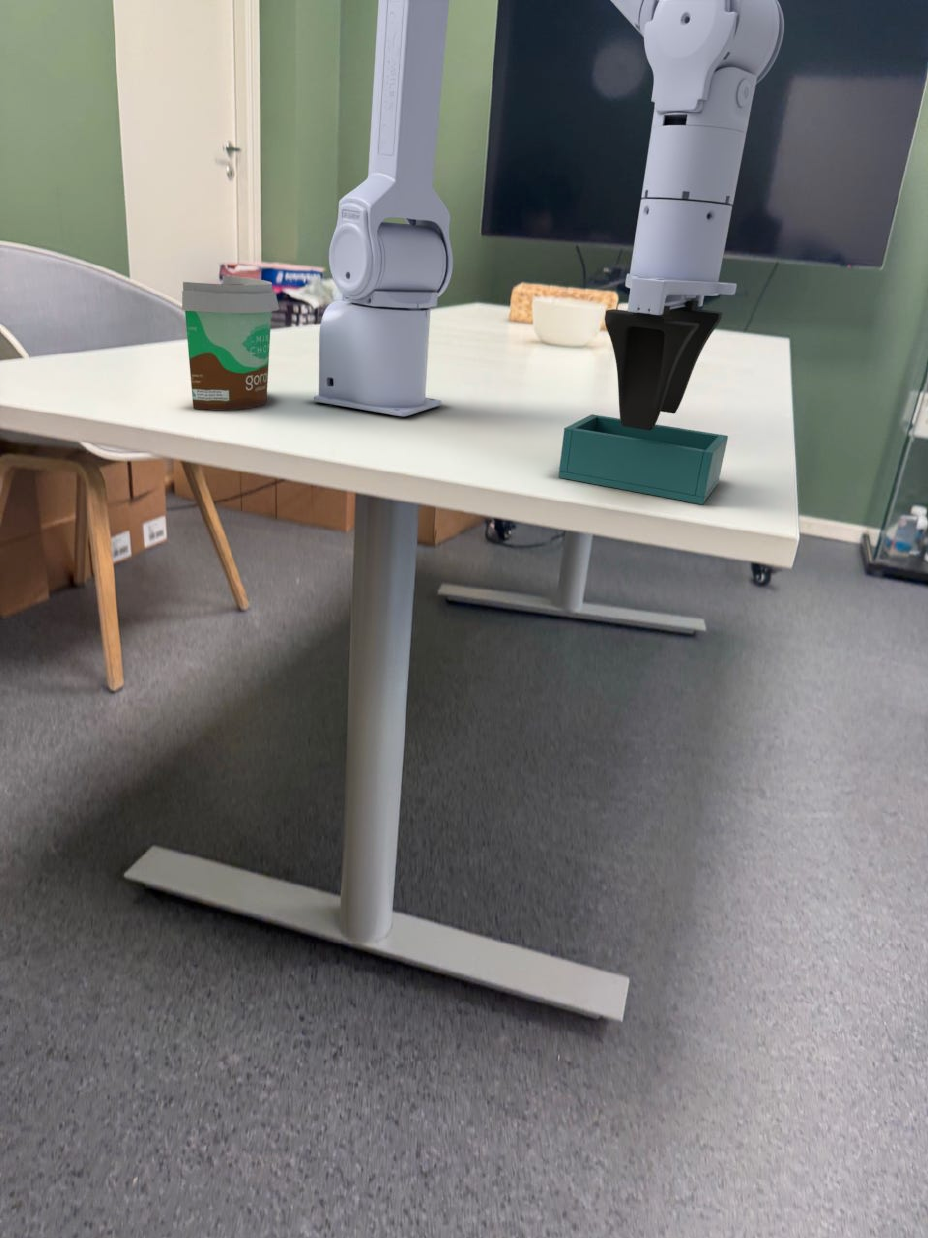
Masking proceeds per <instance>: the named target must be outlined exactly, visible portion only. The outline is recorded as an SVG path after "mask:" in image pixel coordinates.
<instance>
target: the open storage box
mask: <svg viewBox="0 0 928 1238" xmlns="http://www.w3.org/2000/svg"><path fill="white" fill-rule="evenodd" d="M728 439H729V436H728V435H725V434H719V433H712V432H706V431H700V430H694V429H687V428H681V427H674V426H670V425H662V424H657V423H656V424H655V426H654V428H653V429H652V430H643V429H637V428H631V427H625V426H621V421H620V418H618V417H611V416H606V415H605V416H604V415H599V414H590V415H587V416H586V417H583V418H582V419H580V420H578V421H576V422H574V423H572V424H570V425H568V426H566V427H564V430H563V437H562V445H561V452H560V461H559V467H558V478H561V479H566V480H570V481H576V482H581V483H586V484H593V485H597V486H602V487H608V488H613V489H619V490H624V491H630V492H633V493H640V494H644V495H645V494H646V495H651V496H656V497H660V498H666V499H671V500H677V501H683V502H688V503H691V504H692V503H693V504H697V505H698V504H699V505H704V503H705V502H706V501H707V499H708V498H709V496H710V495H711V493H712V492H713V491H714V489H715V488H717V486H718V484H719V482H720V476H721V471H722V467H723V463H724V458H725V453H726V449H727V444H728Z"/></svg>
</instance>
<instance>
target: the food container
mask: <svg viewBox="0 0 928 1238" xmlns="http://www.w3.org/2000/svg"><path fill="white" fill-rule="evenodd" d="M181 294H182V295H181V310H182V311H184V314H185V315H184V316H185V327H186V328H185V329H186V338H187V350H188V361H189V363H188V365H189V374H190V385H191V387H190V388H191V397H192V408H193V409H194V410H205V411H206V410H209V411H210V410H213V411H215V410H216V411H222V410H223V411H228V410H230V411H231V410H244V409H252V408H258V407H261V406H263V405H266V404H267V402H268V401H267V400H268V399H267V398H268V381H269V363H270V347H271V328H272V327H271V324H272V312H276V311H279V310H280V307H279V302H278V297H277V293H276V290H274V289H273V283H272V282H271V281H270V280H269V281H268V280H264V279H258V278H250V277H243V276H242V277H241V276H233V275H232V276H231V275H222V283H206V282H191V281H182V290H181Z"/></svg>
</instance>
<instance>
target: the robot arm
mask: <svg viewBox="0 0 928 1238" xmlns="http://www.w3.org/2000/svg"><path fill="white" fill-rule="evenodd" d="M610 2H611V3H612V4H613V5H614V6H615V7H616V8H617V9H618V11H619V12H620V13H621V14H622V15H623V16H624V18H626V19H627V20H628V22H629V23H630V24H631V25H632V26H633V28H634V29H636V31H637V32H638V33H639V34H640V35H641V36H642V37H643V42H644V43H643V44H644V52H645V57H646V59H647V62H648V64H649V65H650V67H651V70H652V75H653V86H652V94H651V101H650V102H652V103H654V108H653V116H652V122H651V130H650V135H649V137H650V138H649V142H648V150H647V156H646V162H645V170H644V177H643V183H642V190H641V197H640V198H641V199H640V203H639V210H638V217H637V221H636V222H637V224H636V230H635V237H634V244H633V251H632V255H631V263H630V270H629V273H627V274H626V277H625V285H624V286H625V287H626V288H628V289H630V290H629V295H628V302H627V310H624V309H614V308H612V309H606V310H605V313H604V325H605V327H606V331H607V333H608V336H609V339H610V342H611V346H612V350H613V354H614V355H613V356H614V359H615V365H616V376H617V390H618V391H617V393H618V411H619V412H618V413H619V419H620V421H621V426H625V427H631V428H637V429H643V430H652V429H653V428H654V426H655V424H656V425H657V422H658V420H659V417H660V415H661V412H662V413H665V414H666V413H667V414H676V413H677V412H678V410H679V408H680V405H681V403H682V401H683V398H684V396H685V393H686V391H687V388H688V385H689V382H690V379H691V377H692V374H693V371H694V369H695V366H696V364H697V362H698V360H699V357H700V355H701V353H702V351H703V349H704V348H705V345H706V343H707V342H708V340H709V338H710V337H711V335H712V334H713V333H714V331H715V329H716V328H717V327H718V325H719V324H720V323H721V321H722V319H723V312H722V311H717V310H708V309H701V308H699V309H698V307H702V306H703V305H704V304H703V303H704V299H705V296H711V297H712V296H713V297H715V296H719V295H725V296H726V295H727V296H734V295H736V291H737V286H738V284H737V283H734V282H727V281H726V282H725V281H724V282H723V281H719V280H720V274H721V269H722V266H723V258H724V255H725V254H724V253H725V249H726V243H727V238H728V233H729V228H730V221H731V216H732V211H733V206H734V202H735V197H736V196H735V195H736V191H737V190H736V189H737V185H738V180H739V175H740V169H741V164H742V159H743V153H744V148H745V143H746V137H747V131H748V127H749V121H750V117H751V112H752V107H753V106H752V105H753V100H754V95H755V89H756V85H757V84H759V82H760V81H762V80H763V79H764V78H765V76H766V75H767V74H768V73H769V71H770V70H771V69H772V67H773V65H774V63H775V62H776V60H777V57H778V55H779V52H780V50H781V47H782V43H783V39H784V33H785V19H784V13H783V10H782V6H781V3H780V2H779V0H610ZM377 4H378V5H377V19H376V20H377V21H376V37H375V52H374V53H375V54H374V69H373V70H374V72H373V89H372V105H371V123H370V137H369V138H370V139H369V140H370V141H369V153H368V154H369V157H368V170H367V171H368V173H367V177H366V179H365V180H364V181H362V182H361V183H360V184H359V185H358V186H356V187H355V188H354V189H352V190H351V191H349V192H348V193H347V194H345V195H344V196H343V197H342V198H341V199H340V200H339V201H338V211H337V212H338V214H337V222H336V226H335V230H334V232H333V235H332V238H331V241H330V245H329V250H328V262H329V264H328V265H329V269H330V273H331V276H332V279H333V282H334V284H335V286H336V288H337V289H338V291H339V292H340V293H341V297H342V298H341V299H338V300H334V301H332V302H330V303H329V304H328V306H327V307H325V309H324V312H323V314H322V317H321V320H320V325H319V333H318V395H315V396H313V400H314V402H315V403H321V404H322V403H323V404H327V405H334V406H339V407H343V408H344V407H345V408H349V409H350V408H351V409H356V410H361V411H368V412H373V413H379V414H385V415H391V416H395V417H396V416H397V417H408V416H411V415H414V414H418V413H420V412H424V411H427V410H431V409H433V408H437V407H439V406H442V405H443V401H442V399H437V398H433V397H431V398H430V397H426V395H427V393H426V392H427V377H428V359H429V346H430V345H429V344H430V343H429V342H430V329H431V328H430V327H431V326H430V325H431V310H432V309H431V308H433V307H434V308H435V307H438V298H439V297H440V296H441V295H443V294H444V292H445V291H446V289H447V288H448V287H449V286H448V285H449V284H450V282H451V278H452V274H453V269H454V255H453V250H452V246H451V240H450V223H451V214H450V211H449V210H448V209H447V207H446V205H445V204H444V202H443V201H442V200H441V197H440V196H439V195H438V194H437V192H436V190H435V188H434V185H433V184H434V174H435V163H436V162H435V161H436V151H437V141H438V140H437V139H438V130H439V129H438V127H439V117H440V107H441V94H442V86H443V85H442V84H443V74H444V64H445V63H444V62H445V51H446V40H447V29H448V19H449V9H450V8H449V6H450V0H378V3H377ZM389 218H396V219H404V220H405V221H406V222H407V223H398V222H388V221H384V220H386V219H389Z"/></svg>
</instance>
